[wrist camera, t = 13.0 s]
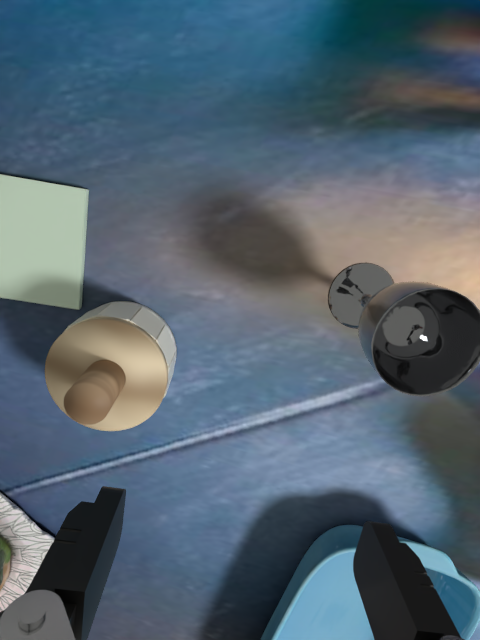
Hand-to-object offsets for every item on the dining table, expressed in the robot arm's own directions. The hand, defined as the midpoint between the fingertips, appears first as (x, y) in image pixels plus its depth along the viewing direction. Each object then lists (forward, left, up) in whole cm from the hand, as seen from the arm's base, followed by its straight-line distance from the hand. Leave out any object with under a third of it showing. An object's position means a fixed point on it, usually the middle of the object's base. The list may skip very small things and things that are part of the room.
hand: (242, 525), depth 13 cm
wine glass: (-3, +13, -30) cm, 33 cm away
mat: (-3, -22, -30) cm, 37 cm away
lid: (+7, -11, -24) cm, 27 cm away
